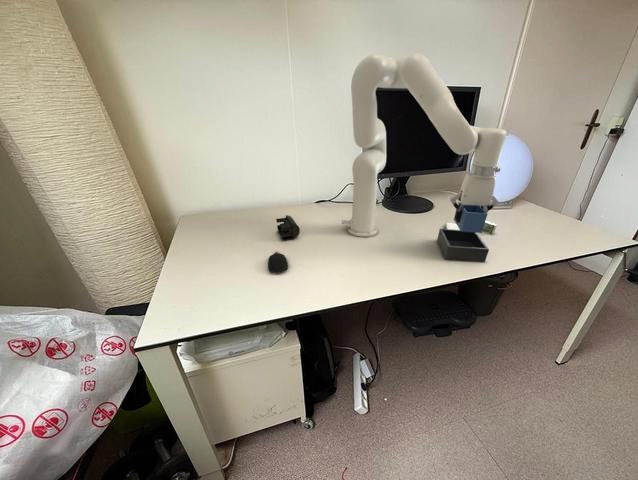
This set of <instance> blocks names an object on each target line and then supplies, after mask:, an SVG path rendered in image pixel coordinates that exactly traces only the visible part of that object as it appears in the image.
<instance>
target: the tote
mask: <svg viewBox="0 0 638 480" xmlns="http://www.w3.org/2000/svg"><path fill="white" fill-rule="evenodd" d="M436 242H437V244H438V246H439V248H440V251H441V253H442V256H443V258H444V260H446V261H462V262H473V263H475V262H476V263H485V262H486V260H487V256H488V254H489V251H490V248H489V247H488V246H487V245H486V243H485V242H484V240H483V239H482V238H481V236H480V234H479V233H476V232H461V231H460V230H452V229H446V228H439V230H438V234H437V239H436Z"/></svg>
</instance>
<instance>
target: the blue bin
mask: <svg viewBox="0 0 638 480" xmlns="http://www.w3.org/2000/svg"><path fill="white" fill-rule="evenodd" d="M460 202H461V201H457V204H459V203H460ZM456 210H457V209H456V208H455V211H456ZM461 212H462V215H461V218H460V222H459V223H458V222H457V221H456V219H455V214H456V212H455V213H454V217H453V221H454V223H456V224H457V226H458V227H459V229H460V231H461V232H476V233H477V234H482V233H483V231H482V230H483V227H484V224H485V221H487V217H488V212H487V213H486V211H485V210H484V209H483V208H482V207H481V206H472V205H465V207H464V208H463V209H462V210H461Z"/></svg>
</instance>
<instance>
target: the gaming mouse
mask: <svg viewBox="0 0 638 480" xmlns="http://www.w3.org/2000/svg"><path fill="white" fill-rule="evenodd" d="M267 267H268V271H269V272H270V273H274V274H282V273H284V272H286V271H287V270H288V269H289V263H288V259H287V258H286V255H285V254H284V253H280V252H278V251H275V252H274V253H272V254H271V255H269V257H268V261H267Z"/></svg>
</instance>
